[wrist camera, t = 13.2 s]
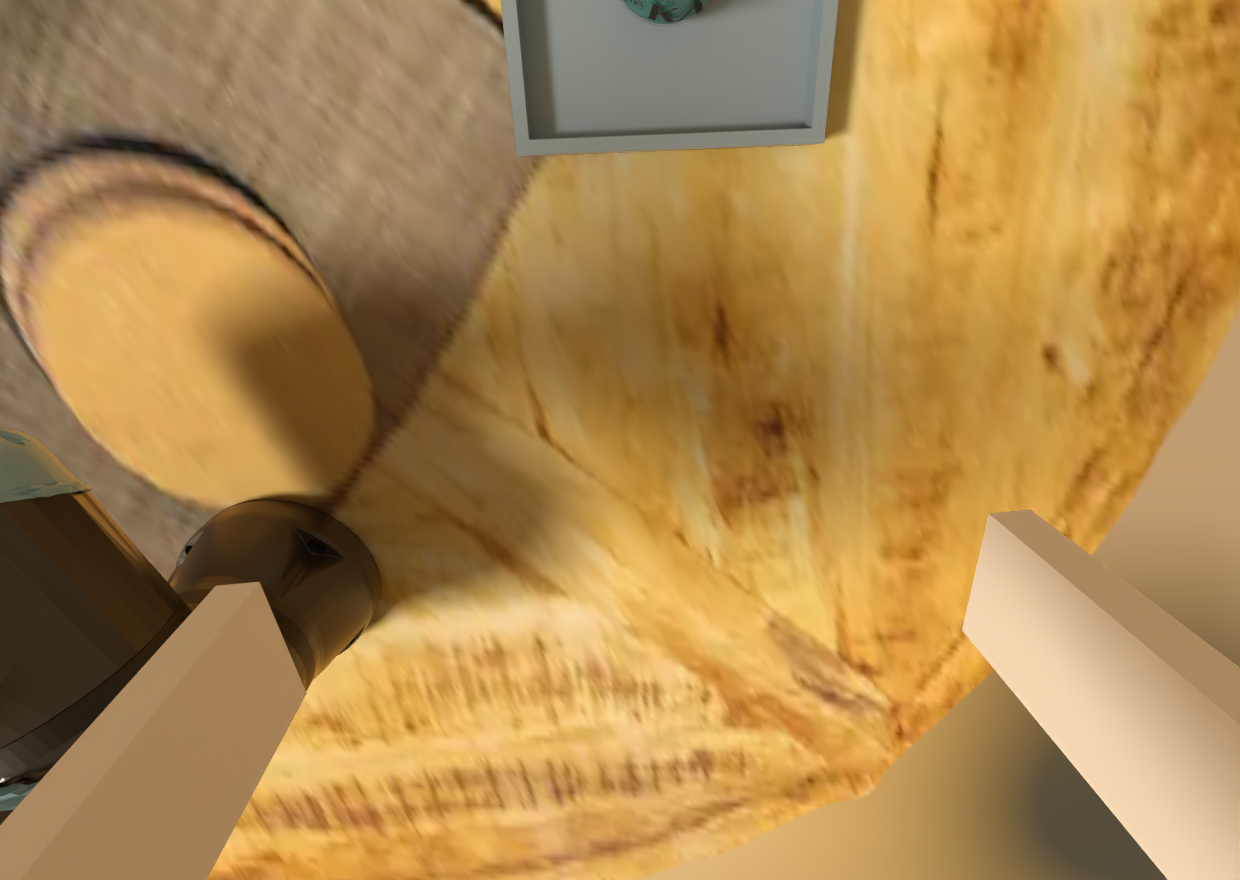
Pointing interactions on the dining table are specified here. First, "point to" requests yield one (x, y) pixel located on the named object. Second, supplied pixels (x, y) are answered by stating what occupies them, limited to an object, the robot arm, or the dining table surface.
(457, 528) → the dining table surface
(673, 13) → the beverage bottle
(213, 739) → the robot arm
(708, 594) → the dining table surface
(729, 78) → the tray
